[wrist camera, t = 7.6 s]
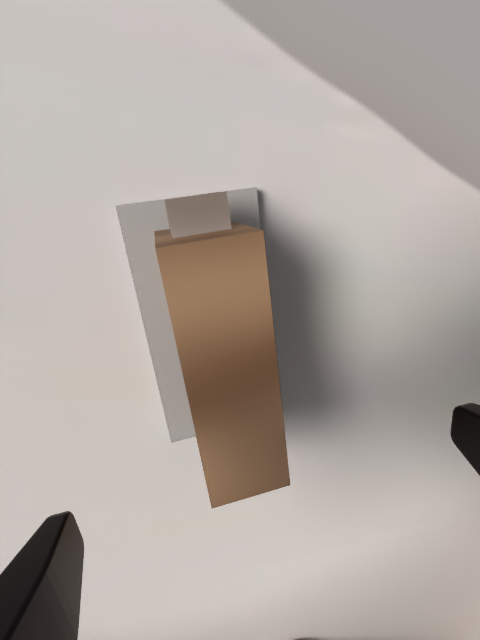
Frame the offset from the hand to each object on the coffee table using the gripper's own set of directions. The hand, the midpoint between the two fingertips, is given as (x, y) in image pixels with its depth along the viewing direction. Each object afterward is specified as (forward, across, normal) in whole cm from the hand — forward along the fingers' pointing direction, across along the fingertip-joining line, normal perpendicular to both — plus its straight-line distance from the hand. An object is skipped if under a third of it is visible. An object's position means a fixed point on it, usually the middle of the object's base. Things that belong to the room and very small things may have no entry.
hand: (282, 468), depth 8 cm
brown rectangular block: (+10, 0, 0) cm, 10 cm away
